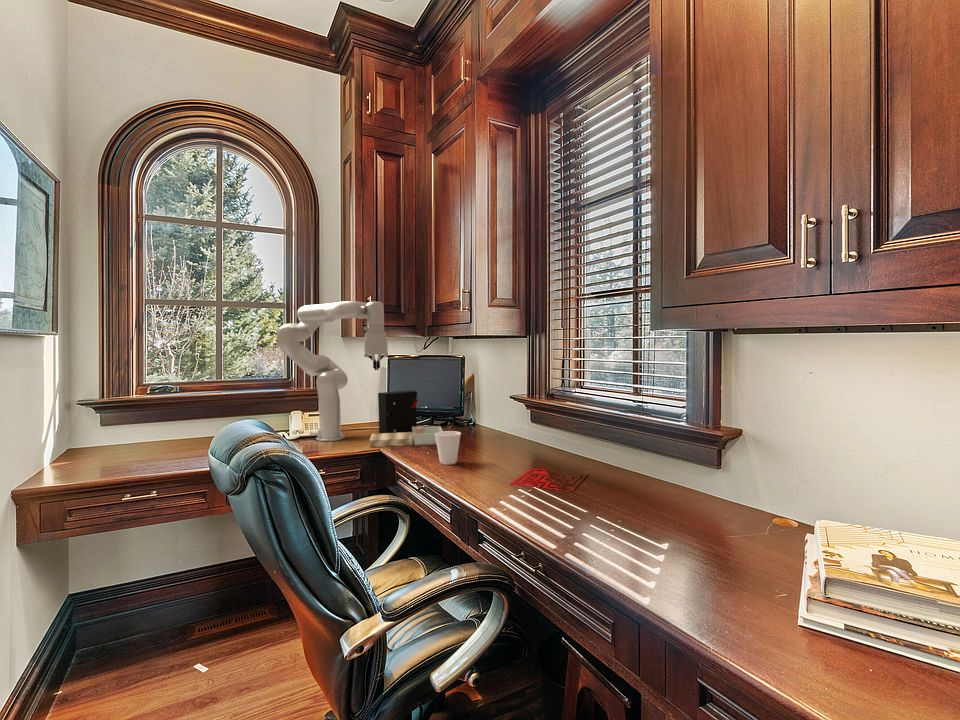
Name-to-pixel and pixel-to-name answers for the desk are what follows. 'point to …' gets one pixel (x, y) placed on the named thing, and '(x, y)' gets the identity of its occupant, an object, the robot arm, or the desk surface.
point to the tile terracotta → (420, 430)
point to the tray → (425, 435)
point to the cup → (447, 446)
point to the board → (391, 439)
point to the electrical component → (397, 411)
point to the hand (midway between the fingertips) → (376, 369)
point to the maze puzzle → (534, 480)
